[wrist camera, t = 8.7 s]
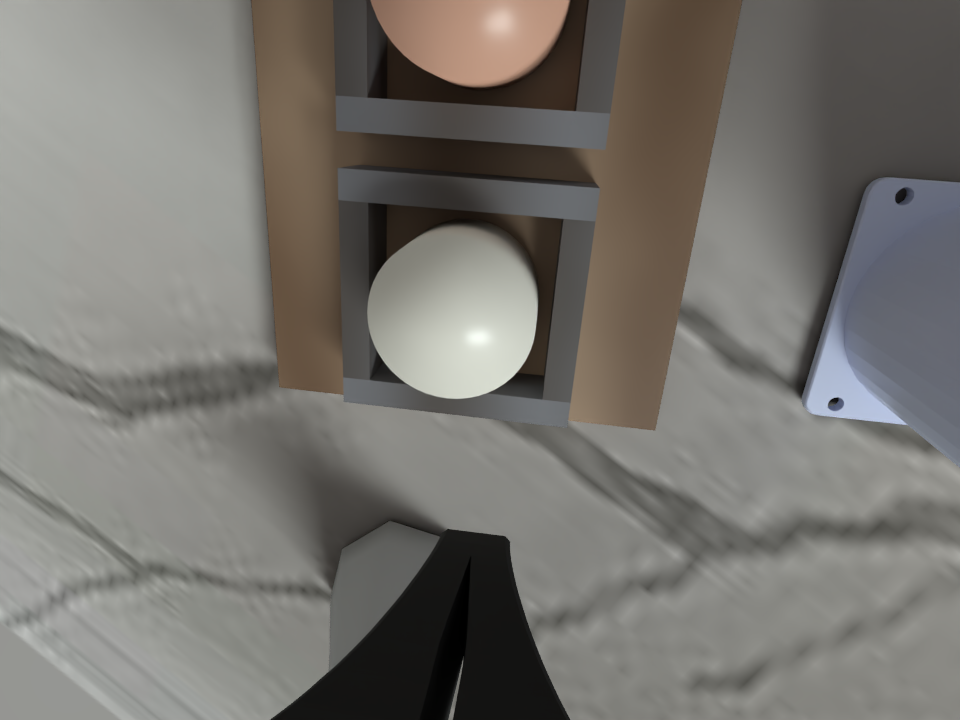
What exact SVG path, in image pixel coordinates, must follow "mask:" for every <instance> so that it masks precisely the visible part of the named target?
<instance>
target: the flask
mask: <svg viewBox="0 0 960 720" xmlns="http://www.w3.org/2000/svg"><path fill="white" fill-rule="evenodd" d="M439 538H440V537H439V536H436V535H433V534H430V533H427V532H423V531H420V530H417V529H414V528H411V527H408V526H405V525H402V524H398V523H395V522H392V521H389V522H387V523H385V524H384V525H382V526H380V527H379V528H377V529H375V530H373V531H372V532H370V533H368V534H367V535H365V536H363V537H362V538H360V539H358V540H357V541H355V542H353V543H351V544H350V545H348V546H346V547H345V548H343V549H342V552H341V556H340V560H339V564H338V568H337V572H336V577H335V581H334V585H333V589H332V593H331V603H330V655H329V671H330V670H331V669H332V668H334V667H335V666H336V665H337V664H338V663H339V662H340V661H341V660H342V659H343V658H344V657H345V656H346V655H347V654H348V653H349V652H350V651H351V650H352V649H353V648H354V647H355V646H356V645H357V644H358V643H359V642H360V641H361V640H362V639H363V638H364V637H365V636H366V635H367V634H368V633H369V632H370V630H371V629H372V628H373V627H374V626H375V625H376V624H377V623H378V621H379V620H380V619H381V618H382V617H383V616H384V614H385V613H386V612H387V611H388V610H389V609H390V607H391V606H392V605H393V604H394V603H395V602H396V600H397V599H398V598H399V597H400V595H401V594H402V593H403V591H404V590H405V589H406V587H407V586H408V585H409V583H410V582H411V581H412V579H413V578H414V577H415V576H416V574H417V573H418V571H419V570H420V569H421V567H422V566H423V564H424V563H425V561H426V560H427V558H428V557H429V555H430V554H431V552H432V550H433V549H434V547H435V545H436V544H437V542H438V540H439Z"/></svg>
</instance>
